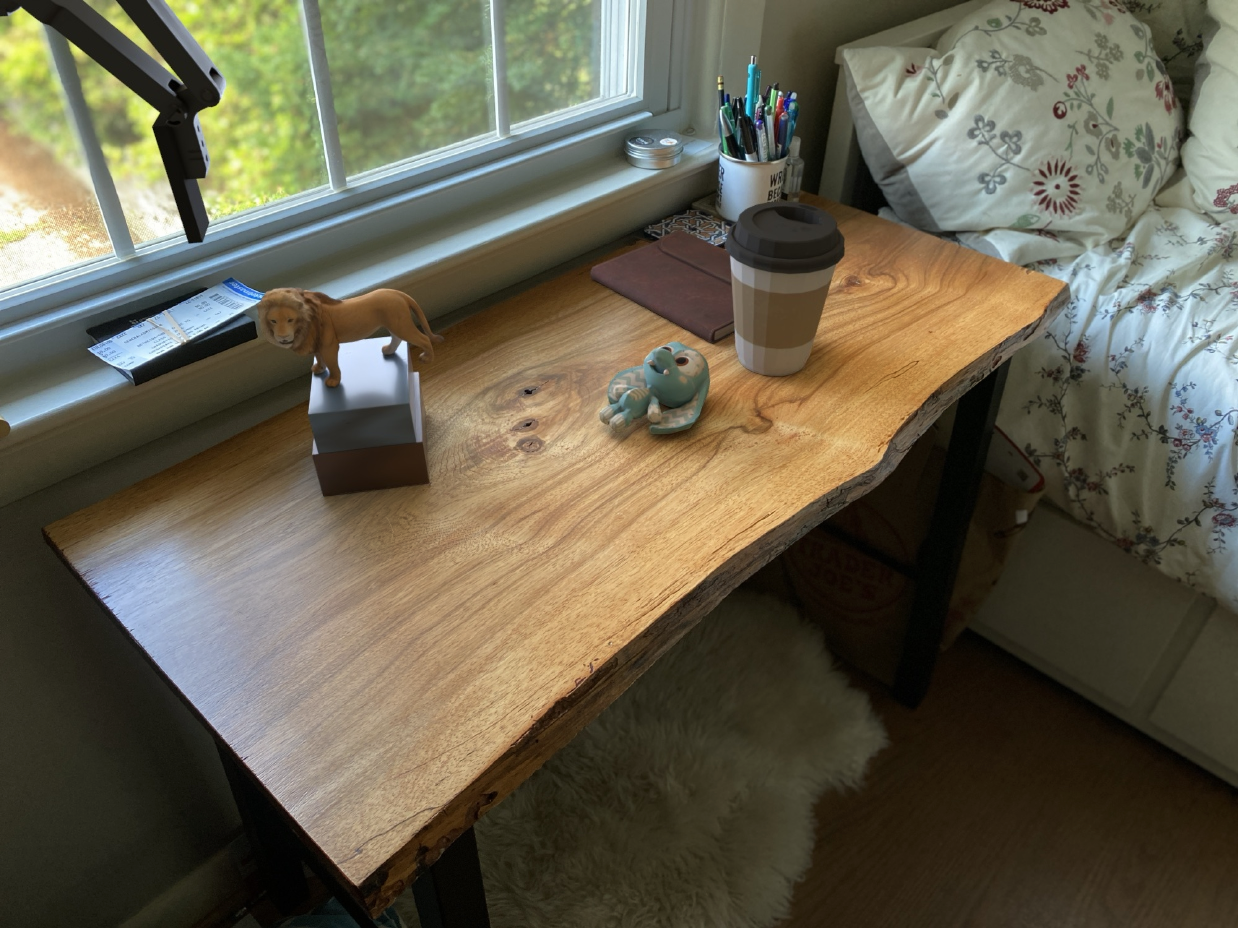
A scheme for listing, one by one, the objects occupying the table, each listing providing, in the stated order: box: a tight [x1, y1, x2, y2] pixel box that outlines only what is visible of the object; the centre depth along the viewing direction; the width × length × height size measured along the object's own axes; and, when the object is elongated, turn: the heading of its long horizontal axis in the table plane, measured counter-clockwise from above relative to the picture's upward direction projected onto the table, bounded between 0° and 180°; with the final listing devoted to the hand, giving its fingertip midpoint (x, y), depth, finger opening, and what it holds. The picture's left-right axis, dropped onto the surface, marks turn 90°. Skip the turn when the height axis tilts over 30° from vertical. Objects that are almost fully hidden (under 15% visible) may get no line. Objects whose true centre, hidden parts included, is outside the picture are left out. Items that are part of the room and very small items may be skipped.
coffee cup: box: [724, 201, 846, 377], centre depth 92 cm, size 11×11×15 cm
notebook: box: [590, 229, 735, 344], centre depth 107 cm, size 15×20×2 cm
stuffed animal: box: [598, 340, 711, 435], centre depth 87 cm, size 11×7×12 cm
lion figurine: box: [256, 286, 445, 387], centre depth 77 cm, size 15×5×9 cm, turn 123°
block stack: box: [307, 336, 430, 497], centre depth 82 cm, size 9×11×8 cm
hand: (72, 244), depth 52 cm, fingers open, 13 cm apart
